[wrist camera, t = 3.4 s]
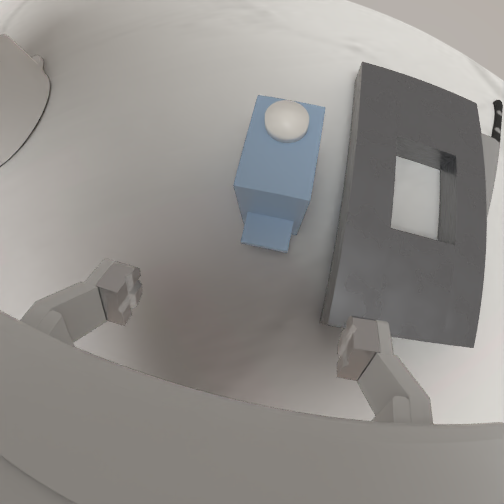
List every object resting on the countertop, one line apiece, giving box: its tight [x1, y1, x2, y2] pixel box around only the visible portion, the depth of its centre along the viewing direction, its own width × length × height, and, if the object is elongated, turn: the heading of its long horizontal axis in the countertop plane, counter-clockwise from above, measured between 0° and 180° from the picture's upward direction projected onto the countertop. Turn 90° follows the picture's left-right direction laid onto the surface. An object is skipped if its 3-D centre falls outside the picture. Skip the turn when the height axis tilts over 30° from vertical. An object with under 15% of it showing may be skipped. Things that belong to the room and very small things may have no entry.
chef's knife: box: [481, 100, 503, 215], centre depth 24 cm, size 19×1×3 cm
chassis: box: [320, 62, 487, 348], centre depth 23 cm, size 12×22×3 cm, turn 167°
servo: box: [233, 95, 325, 253], centre depth 20 cm, size 4×10×9 cm, turn 167°
